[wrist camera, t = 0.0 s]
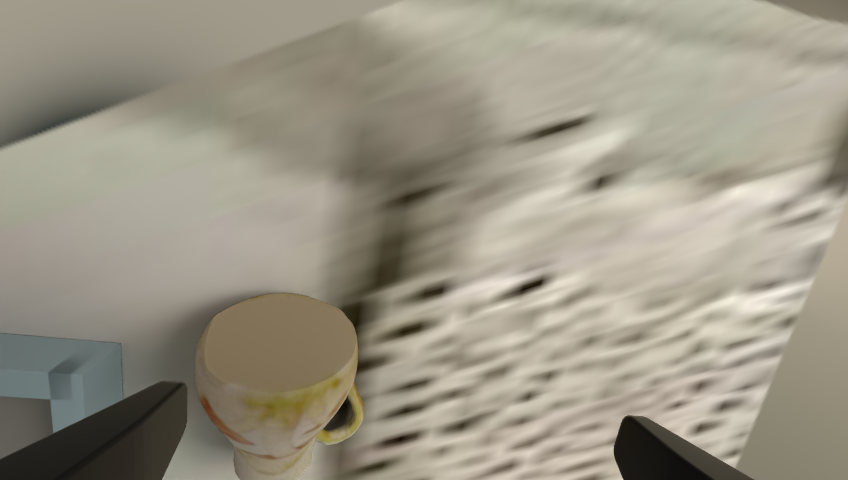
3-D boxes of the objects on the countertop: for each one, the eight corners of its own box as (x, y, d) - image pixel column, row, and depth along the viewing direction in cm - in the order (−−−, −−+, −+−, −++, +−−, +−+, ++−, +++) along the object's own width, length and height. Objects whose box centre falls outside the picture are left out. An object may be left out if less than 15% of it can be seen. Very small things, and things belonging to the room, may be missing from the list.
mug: (221, 455, 24) (89, 508, 15) (283, 296, 27) (206, 255, 18) (341, 495, 24) (284, 577, 14) (392, 328, 26) (373, 303, 17)
